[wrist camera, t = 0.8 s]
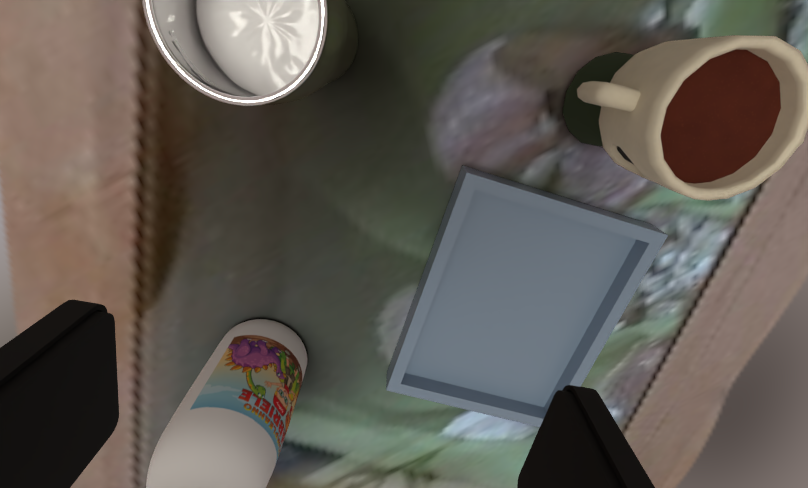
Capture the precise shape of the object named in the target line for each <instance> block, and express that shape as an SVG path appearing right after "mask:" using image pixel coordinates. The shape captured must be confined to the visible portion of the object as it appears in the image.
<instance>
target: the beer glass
mask: <svg viewBox="0 0 808 488" xmlns="http://www.w3.org/2000/svg"><path fill="white" fill-rule="evenodd" d="M142 4H143V9H144V14H145V18H146V21H147V25H148V28H149V30H150V33H151V35H152V38H153V40H154V42H155V44H156V46H157V47H158V49H159V51H160V52H161V54H162V56H163V57H164V58H165V60H166V61H167V63H168V64H169V65H170V66H171V68H172V69H173V70H174V71H175V72H176V73H177V74H178V75H179V76H180V77H181V78H182V79H183V80H184V81H186V82H187V83H188V84H189V85H191V86H192V87H193V88H195V89H196V90H198V91H199V92H201V93H203V94H205V95H206V96H208V97H211V98H213V99H215V100H218V101H221V102H224V103H228V104H232V105H239V106H258V105H276V104H283V103H289V102H293V101H297V100H300V99H302V98H305V97H307V96H309V95H311V94H312V93H314V92H316V91H318V90H319V89H321V88H322V87H323V86H324V85H325V84H326V83H329V82H332V81H334V80H336V79H338V78H339V77H341V76H342V75H343V74H344V73H345V72H346V71H347V70H348V68H349V67H350V66H351V64H352V62H353V60H354V58H355V55H356V51H357V46H358V31H357V25H356V21H355V18H354V16H353V14H352V12H351V10H350V8H349V7H348V5H347V4H346V3H345V0H142Z"/></svg>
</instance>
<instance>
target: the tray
mask: <svg viewBox="0 0 808 488" xmlns="http://www.w3.org/2000/svg"><path fill="white" fill-rule="evenodd" d="M667 236H668V235H667V234H666V233H664V232H662V231H661V230H659V229H658V228H656V227H654V226H653V225H651V224H648V223H645V222H642V221H639V220H636V219H632V218H629V217H626V216H623V215H620V214H617V213H613V212H610V211H607V210H604V209H601V208H597V207H594V206H591V205H588V204H585V203H581V202H578V201H575V200H572V199H569V198H565V197H562V196H559V195H556V194H553V193H549V192H546V191H543V190H540V189H537V188H533V187H530V186H527V185H524V184H521V183H517V182H514V181H511V180H508V179H505V178H501V177H498V176H495V175H492V174H489V173H485V172H482V171H479V170H476V169H473V168H470V167H466V166H463V165H462V167H461V170H460V173H459V176H458V178H457V181H456V184H455V187H454V189H453V192H452V195H451V198H450V200H449V203H448V206H447V209H446V211H445V214H444V217H443V220H442V222H441V225H440V228H439V231H438V233H437V236H436V239H435V242H434V244H433V247H432V250H431V253H430V255H429V258H428V261H427V264H426V266H425V269H424V272H423V275H422V277H421V280H420V283H419V286H418V288H417V291H416V294H415V297H414V299H413V302H412V305H411V308H410V310H409V313H408V316H407V319H406V321H405V324H404V327H403V330H402V332H401V335H400V338H399V340H398V343H397V346H396V349H395V351H394V354H393V357H392V360H391V362H390V365H389V368H388V371H387V384H386V390H388V391H392V392H396V393H400V394H404V395H408V396H413V397H417V398H421V399H425V400H429V401H433V402H437V403H442V404H446V405H450V406H454V407H458V408H462V409H466V410H471V411H475V412H479V413H483V414H487V415H491V416H495V417H500V418H504V419H508V420H512V421H516V422H520V423H524V424H529V425H533V426H537V427H540V426H541V424H542V422H543V419H544V417H545V415H546V412H547V410H548V408H549V405H550V403H551V401H552V399H553V396H554V394H555V393H556V392H557V391H558V390H563V388H564V387H565V386H566V385H573V386H579V387H580V386H581V385H582V383H583V381H584V379H585V378H586V376H587V374H588V373H589V371H590V369H591V367H592V366H593V364H594V362H595V360H596V359H597V357H598V355H599V354H600V352H601V350H602V348H603V347H604V345H605V343H606V341H607V340H608V338H609V336H610V335H611V333H612V331H613V329H614V328H615V326H616V324H617V322H618V321H619V319H620V317H621V315H622V314H623V312H624V310H625V309H626V307H627V305H628V303H629V302H630V300H631V298H632V296H633V295H634V293H635V291H636V290H637V288H638V286H639V284H640V283H641V281H642V279H643V277H644V276H645V274H646V272H647V271H648V269H649V267H650V265H651V264H652V262H653V260H654V258H655V257H656V255H657V253H658V252H659V250H660V248H661V246H662V245H663V243H664V241H665V239H666V238H667Z"/></svg>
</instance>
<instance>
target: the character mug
mask: <svg viewBox="0 0 808 488" xmlns="http://www.w3.org/2000/svg"><path fill="white" fill-rule="evenodd" d="M563 115H564V118H565V121H566V124H567V127H568V130H569V131H570V132H571V133H572V134H573V135H574V136H575V137H576V138H577V139H578V140H579V141H580V142H582V143H586V144H591V145H596V146H603V148H604V149H605V151H606V152H607V153H608V155H609V156H610V157H611V159H612V160H613V161H614V162H615V163H616V164H617V165H619V166H621V167H623V168H625V169H627V170H628V171H631V172H633V173H635V174H637V175H639V176H641V177H643V178H646V179H648V180H650V181H653V182H655V183H657V184H659V185H661V186H664V187H666V188H668V189H670V190H672V191H675V192H677V193H680V194H682V195H685V196H688V197H690V198H693V199H699V200H717V199H727V198H730V197H732V196H735V195H737V194H740V193H743V192H745V191H748V190H750V189H753V188H755V187H756V186H758V185H759V184H760V183H762V182H763V181H765V180H766V179H767V178H769V177H770V176H771V175H773V174H774V173H775V172H777V171H778V170H779V169H781V168H782V167H783V166H784V164H785V163H786V162H787V161H788V159H789V158H790V157H791V156H792V154H793V153H794V152H795V151H796V149H797V148H798V147H799V146H800V145H801V144H803V143H804V138H805V135H806V132H807V130H808V64H807V62H806V60H805V58H804V56H803V55H802V53H801V51H799V50H798V49H796V48H794V47H793V46H791V45H789V44H788V43H786V42H784V41H783V40H781V39H779V38H777V37H776V36H739V35H732V36H721V37H709V38H698V39H687V40H676V41H666V42H663V43H661V44H658V45H656V46H653V47H651V48H648V49H646V50H643V51H640V52H638V53H637V54H635V55H631V54H626V53H619V52H614V53H610V54H606V55H602V56H599V57H595V58H594V59H593V60H592V61H590V62H589V63H588V64H587V65H585V66H584V67H583V68H582V69H580V70H579V71H578V72H577V74H576V76H575V78H574V79H573V81H572V83H571V84H570V86H569V88H568V90H567V92H566V97H565V102H564V107H563Z"/></svg>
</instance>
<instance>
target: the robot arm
mask: <svg viewBox="0 0 808 488" xmlns="http://www.w3.org/2000/svg"><path fill="white" fill-rule="evenodd" d="M118 418H119V404H118V383H117V362H116V341H115V321H114V317H113V315H112V314H110V313H107V309H106V307H105V306H103V305H101V304H96V303H90V302H84V301H78V300H68V301H66V302H65V303H63V304H62V305H60V306H59V307H57V308H56V309H55V310H53V311H52V312H50V313H49V314H48V315H46V316H45V317H43V318H42V319H40V320H39V321H38V322H36V323H35V324H33V325H32V326H31V327H29V328H28V329H26V330H25V331H24V332H22V333H21V334H19V335H18V336H16V337H15V338H14V339H13V340H11V341H9V342H8V343H7V344H5V345H4V346H2V347H1V348H0V488H70V487H71V486H72V484H73V483H74V482H75V481H76V479H77V478H78V477H79V475H80V474H81V473H82V472H83V470H84V469H85V468H86V466H87V465H88V464H89V463H90V461H91V460H92V459H93V458H94V456H95V455H96V454H97V452H98V451H99V450H100V449H101V447H102V446H103V445H104V443H105V442H106V441H107V440H108V438H109V437H110V436H111V434H112V433H113V431H114V429H115V427H116V425H117V422H118ZM518 488H655V487H654V485H653V484H652V482H651V480H650V479H649V477H648V475H647V474H646V472H645V470H644V469H643V467H642V465H641V464H640V462H639V460H638V459H637V457H636V455H635V454H634V452H633V450H632V449H631V447H630V445H629V444H628V442H627V440H626V439H625V437H624V435H623V434H622V432H621V430H620V429H619V427H618V425H617V424H616V422H615V420H614V419H613V417H612V415H611V414H610V412H609V410H608V409H607V407H606V405H605V404H604V402H603V400H602V399H601V397H600V395H599V394H598V393H597V391H596V390H594V389H591V388H585V387H579V386H573V385H566V386H565V387H564V388H563V390H558V391H557V392H556V393H555V394H554V396H553V399H552V401H551V403H550V405H549V408H548V410H547V412H546V415H545V417H544V419H543V422H542V424H541V426H540V428H539V431H538V433H537V435H536V438H535V440H534V442H533V444H532V447H531V449H530V451H529V454H528V456H527V458H526V461H525V463H524V465H523V467H522V470H521V472H520V474H519V477H518Z"/></svg>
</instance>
